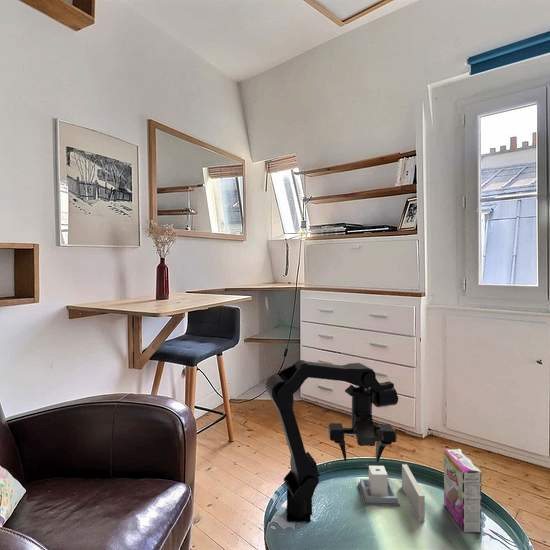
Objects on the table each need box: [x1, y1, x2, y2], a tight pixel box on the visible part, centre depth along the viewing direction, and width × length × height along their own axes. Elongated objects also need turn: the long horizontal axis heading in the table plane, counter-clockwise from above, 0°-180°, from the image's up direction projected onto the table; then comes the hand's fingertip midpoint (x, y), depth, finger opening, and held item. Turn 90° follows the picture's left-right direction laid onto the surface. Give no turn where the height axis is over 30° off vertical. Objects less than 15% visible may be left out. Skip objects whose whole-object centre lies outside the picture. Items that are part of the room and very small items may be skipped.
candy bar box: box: [443, 448, 482, 534], centre depth 98 cm, size 11×5×16 cm, turn 0°
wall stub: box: [401, 464, 426, 522], centre depth 105 cm, size 2×15×7 cm, turn 177°
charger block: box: [368, 465, 389, 496], centre depth 109 cm, size 4×4×7 cm
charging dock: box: [358, 478, 401, 507], centre depth 109 cm, size 10×10×2 cm
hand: (361, 461), depth 106 cm, fingers open, 9 cm apart
